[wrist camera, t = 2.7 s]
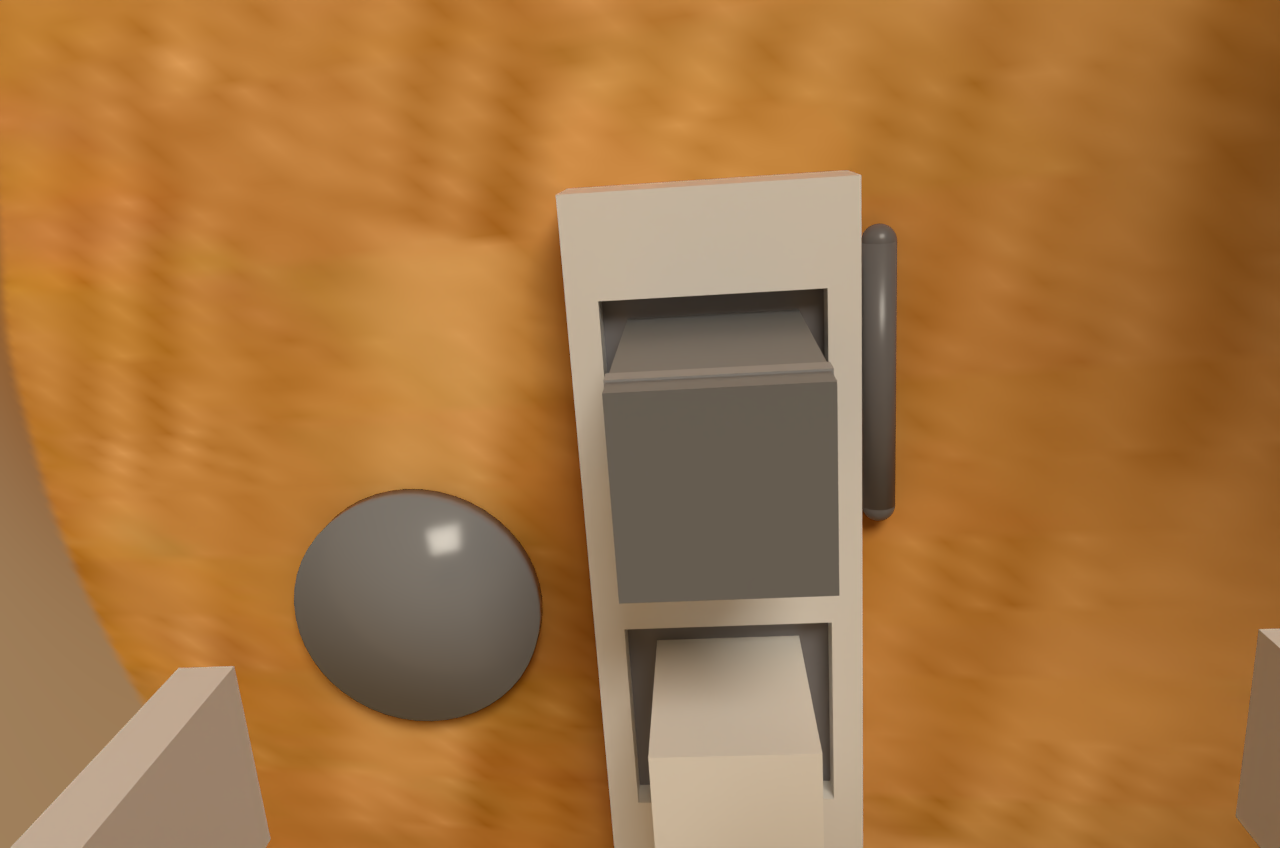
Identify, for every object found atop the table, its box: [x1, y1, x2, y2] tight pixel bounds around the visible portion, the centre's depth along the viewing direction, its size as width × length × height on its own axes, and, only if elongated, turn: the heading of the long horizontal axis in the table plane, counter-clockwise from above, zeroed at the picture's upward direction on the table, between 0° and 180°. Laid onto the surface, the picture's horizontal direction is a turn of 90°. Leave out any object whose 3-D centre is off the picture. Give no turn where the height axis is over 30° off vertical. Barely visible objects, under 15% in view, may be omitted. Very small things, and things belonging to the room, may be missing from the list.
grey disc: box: [294, 489, 542, 721], centre depth 33 cm, size 8×8×1 cm
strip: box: [556, 170, 897, 848], centre depth 30 cm, size 22×9×3 cm, turn 4°
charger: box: [602, 309, 839, 604], centre depth 25 cm, size 5×5×8 cm
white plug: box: [648, 636, 824, 848], centre depth 29 cm, size 4×4×6 cm
